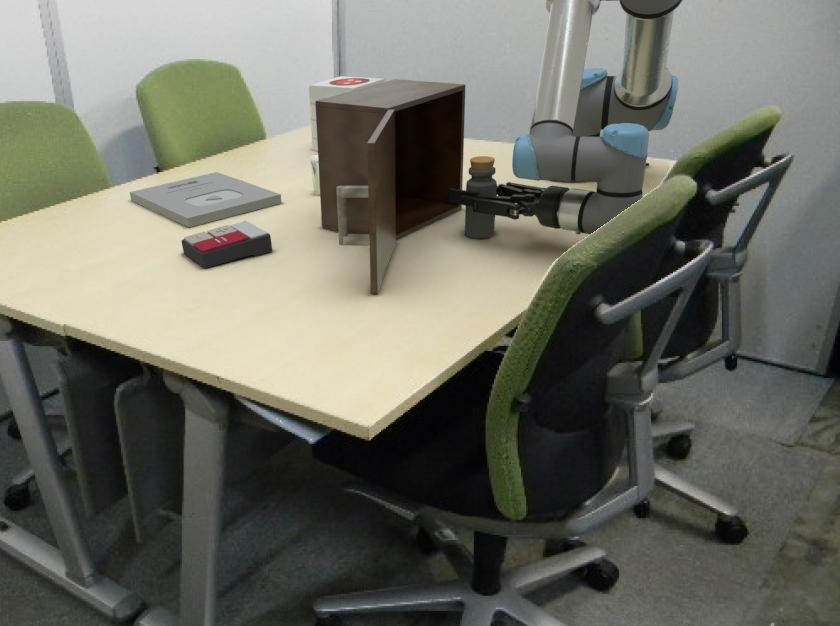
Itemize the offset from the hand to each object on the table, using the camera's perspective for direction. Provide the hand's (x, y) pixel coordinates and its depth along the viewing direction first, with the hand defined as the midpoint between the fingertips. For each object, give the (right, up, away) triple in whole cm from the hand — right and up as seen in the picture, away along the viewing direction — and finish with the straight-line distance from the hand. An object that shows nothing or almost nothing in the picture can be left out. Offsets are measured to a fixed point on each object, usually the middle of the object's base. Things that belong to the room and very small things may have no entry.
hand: (458, 191), depth 171 cm
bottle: (+4, -9, +1) cm, 10 cm away
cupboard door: (-19, -17, -11) cm, 28 cm away
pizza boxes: (-15, +27, +66) cm, 73 cm away
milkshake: (-27, +8, +34) cm, 44 cm away
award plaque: (-55, +6, +34) cm, 65 cm away
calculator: (-46, -12, +1) cm, 48 cm away
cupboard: (-12, -3, +13) cm, 18 cm away
